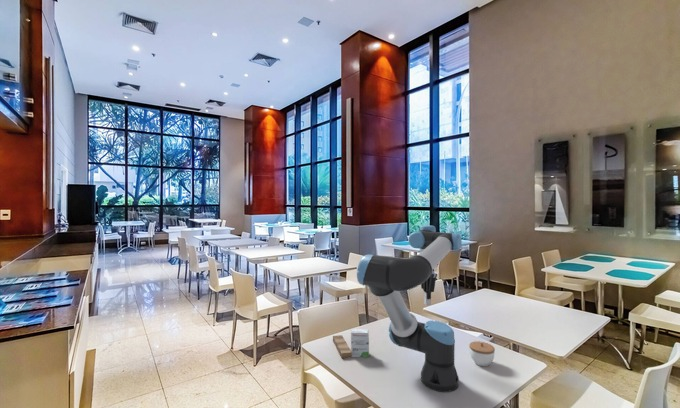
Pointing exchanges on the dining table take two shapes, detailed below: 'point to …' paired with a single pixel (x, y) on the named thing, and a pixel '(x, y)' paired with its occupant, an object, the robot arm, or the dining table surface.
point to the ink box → (360, 343)
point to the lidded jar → (481, 353)
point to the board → (342, 347)
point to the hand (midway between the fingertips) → (427, 304)
